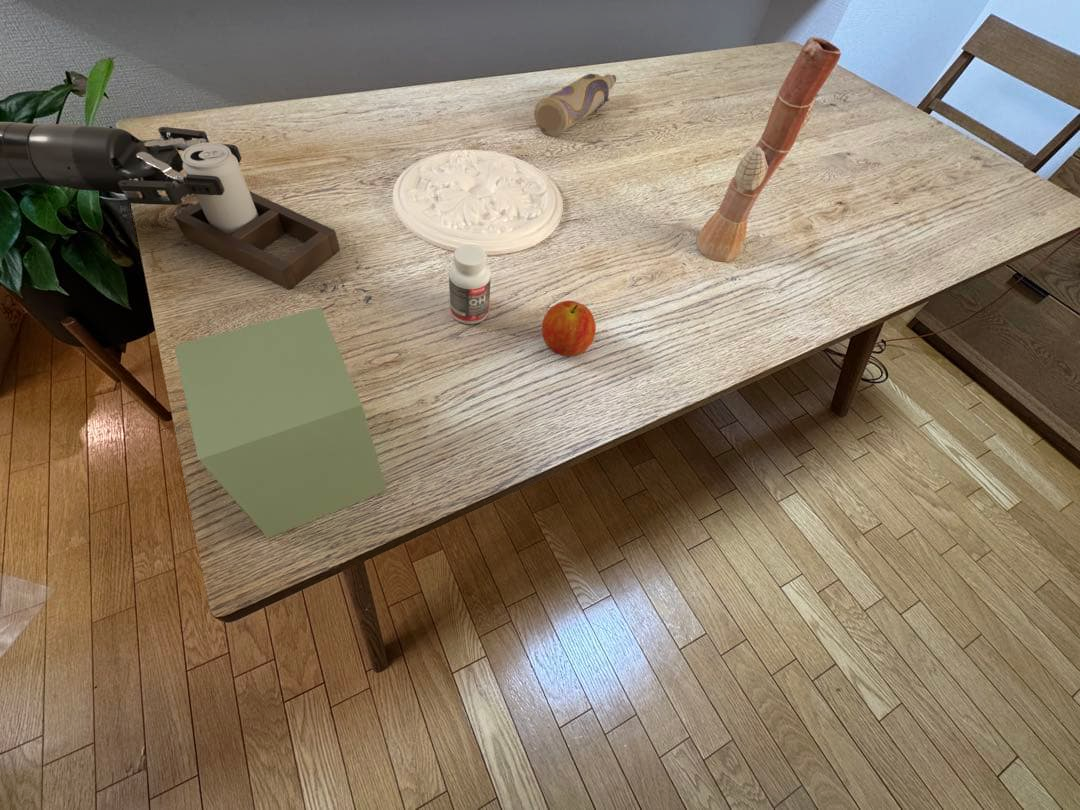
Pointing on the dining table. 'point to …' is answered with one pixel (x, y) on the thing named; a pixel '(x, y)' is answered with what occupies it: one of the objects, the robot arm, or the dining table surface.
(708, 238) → the vase
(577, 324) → the fruit
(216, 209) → the beverage can
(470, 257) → the pill bottle
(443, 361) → the dining table surface
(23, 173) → the robot arm
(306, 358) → the stand
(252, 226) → the tray
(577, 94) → the decorative bottle
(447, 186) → the ceiling medallion
